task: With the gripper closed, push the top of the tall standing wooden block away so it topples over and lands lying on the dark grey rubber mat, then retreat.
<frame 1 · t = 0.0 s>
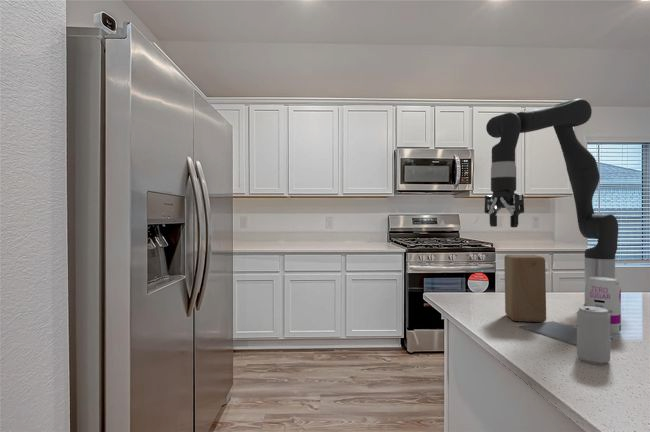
hand: (503, 226, 131), 29 cm above the countertop, fingers open, 8 cm apart
mat: (563, 332, 114), on the countertop
wooden block: (525, 319, 129), on the countertop, touching mat
supplement can: (603, 331, 116), on the countertop
beverage can: (593, 361, 93), on the countertop
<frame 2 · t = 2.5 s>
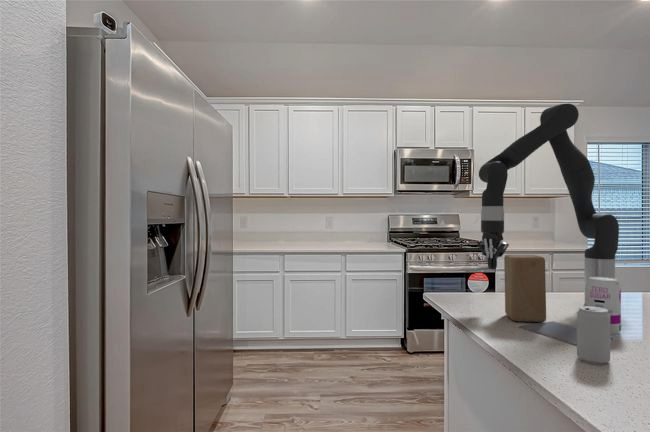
hand: (492, 268, 142), 14 cm above the countertop, fingers closed
nothing on the countertop moved.
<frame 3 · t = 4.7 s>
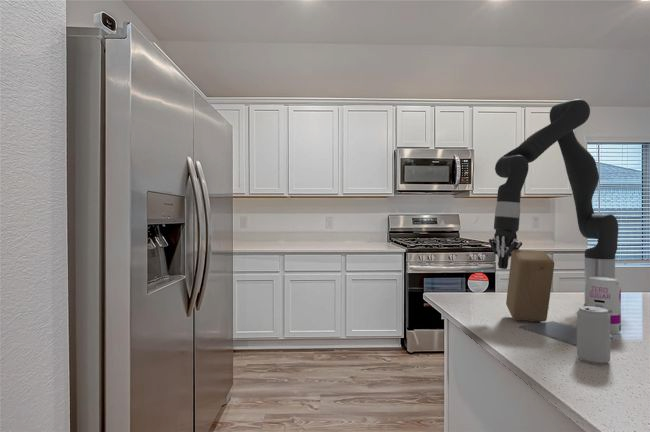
hand: (502, 268, 134), 15 cm above the countertop, fingers closed
wooden block: (525, 314, 129), point 2 cm above the countertop, touching hand, mat
everything else where it was.
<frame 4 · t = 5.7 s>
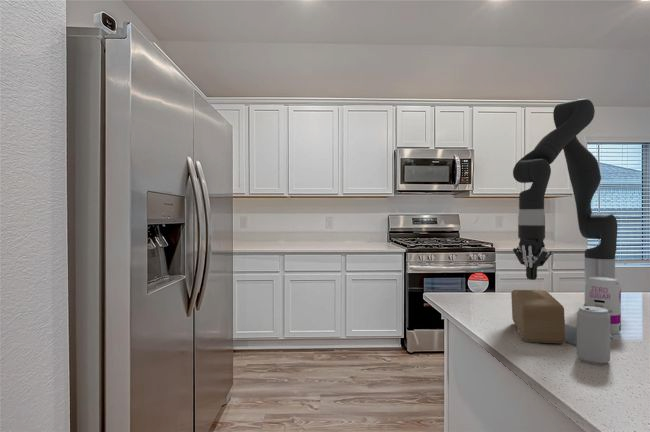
hand: (531, 279, 127), 13 cm above the countertop, fingers closed
wooden block: (529, 305, 124), point 6 cm above the countertop, touching mat
everything else where it was.
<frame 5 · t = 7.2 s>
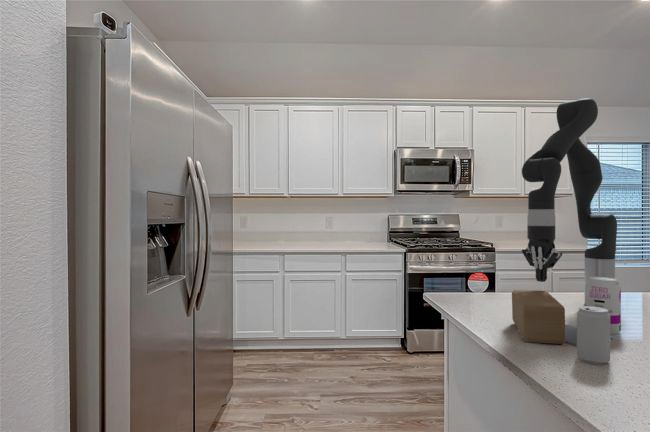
hand: (541, 281, 123), 13 cm above the countertop, fingers closed
wooden block: (529, 305, 124), point 5 cm above the countertop, touching mat
everything else where it was.
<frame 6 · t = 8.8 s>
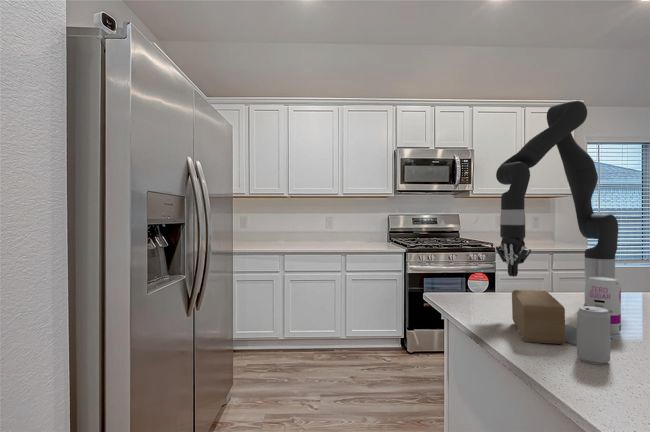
hand: (512, 276, 134), 13 cm above the countertop, fingers closed
nothing on the countertop moved.
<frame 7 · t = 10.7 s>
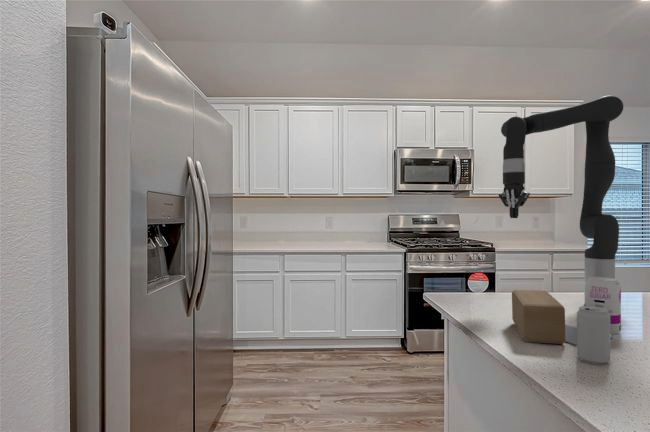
hand: (513, 218, 152), 32 cm above the countertop, fingers closed
nothing on the countertop moved.
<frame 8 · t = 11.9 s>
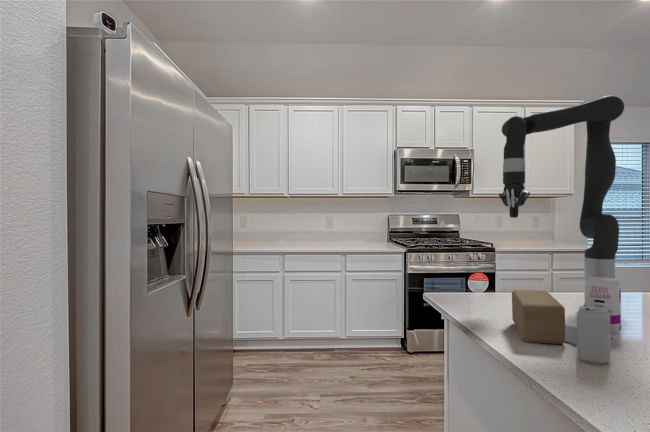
hand: (513, 217, 152), 32 cm above the countertop, fingers closed
nothing on the countertop moved.
at the end: wooden block tilted 91°; wooden block inside the target area (10.4 cm from its centre), point 5.5 cm above the countertop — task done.
